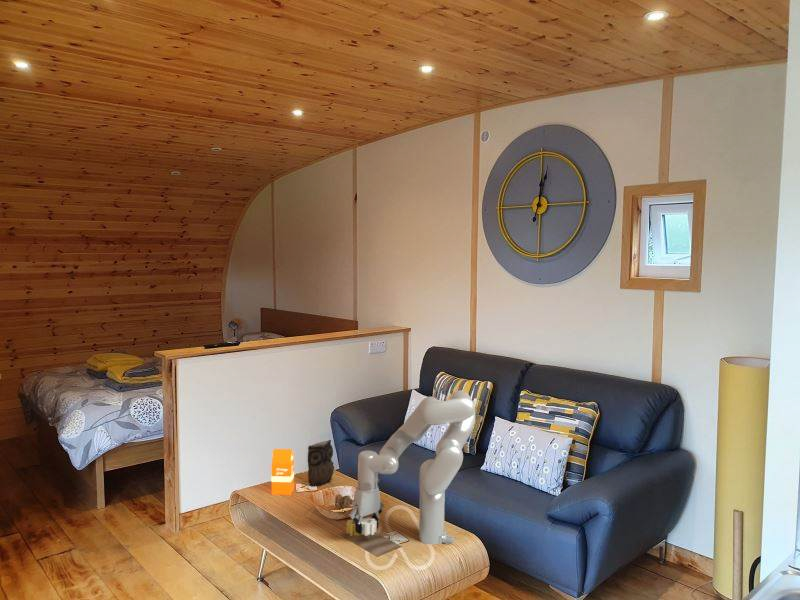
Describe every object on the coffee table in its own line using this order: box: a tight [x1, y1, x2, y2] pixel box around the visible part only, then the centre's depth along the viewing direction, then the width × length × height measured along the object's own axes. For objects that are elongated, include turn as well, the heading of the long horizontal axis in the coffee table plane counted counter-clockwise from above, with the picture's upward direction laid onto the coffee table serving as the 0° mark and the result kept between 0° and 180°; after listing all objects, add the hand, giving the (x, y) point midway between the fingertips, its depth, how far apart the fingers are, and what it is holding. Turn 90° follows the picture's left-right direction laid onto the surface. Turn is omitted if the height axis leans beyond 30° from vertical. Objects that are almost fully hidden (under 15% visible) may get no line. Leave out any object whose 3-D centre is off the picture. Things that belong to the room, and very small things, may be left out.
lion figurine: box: [334, 493, 354, 510], centre depth 261 cm, size 15×5×9 cm, turn 35°
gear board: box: [337, 530, 403, 558], centre depth 232 cm, size 24×12×4 cm, turn 41°
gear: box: [346, 518, 364, 536], centre depth 239 cm, size 7×7×4 cm
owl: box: [307, 439, 335, 488], centre depth 293 cm, size 13×13×20 cm
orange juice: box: [270, 448, 295, 496], centre depth 282 cm, size 8×9×20 cm
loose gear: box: [361, 516, 378, 536], centre depth 233 cm, size 7×7×4 cm
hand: (366, 529), depth 233 cm, fingers closed on loose gear, 7 cm apart
